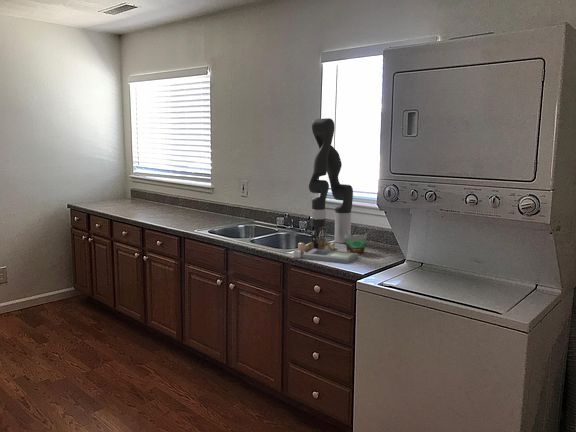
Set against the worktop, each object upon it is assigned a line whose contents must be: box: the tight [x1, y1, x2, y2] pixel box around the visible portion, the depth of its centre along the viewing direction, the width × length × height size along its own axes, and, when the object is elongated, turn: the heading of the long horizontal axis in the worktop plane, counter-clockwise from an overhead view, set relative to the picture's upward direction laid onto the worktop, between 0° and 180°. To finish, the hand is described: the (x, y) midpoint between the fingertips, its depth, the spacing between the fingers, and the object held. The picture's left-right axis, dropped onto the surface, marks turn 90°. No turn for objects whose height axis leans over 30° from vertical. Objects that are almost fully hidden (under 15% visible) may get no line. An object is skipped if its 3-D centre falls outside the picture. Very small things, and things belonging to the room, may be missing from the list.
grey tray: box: [302, 249, 359, 264], centre depth 258 cm, size 15×24×2 cm, turn 64°
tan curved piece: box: [304, 241, 336, 252], centre depth 276 cm, size 14×12×3 cm
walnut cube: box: [310, 238, 327, 250], centre depth 274 cm, size 6×6×6 cm
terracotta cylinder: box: [297, 242, 305, 256], centre depth 265 cm, size 3×3×6 cm
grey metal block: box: [293, 249, 302, 259], centre depth 260 cm, size 4×4×4 cm
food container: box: [344, 232, 368, 255], centre depth 268 cm, size 12×6×10 cm, turn 103°
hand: (318, 248), depth 275 cm, fingers closed on walnut cube, 6 cm apart
